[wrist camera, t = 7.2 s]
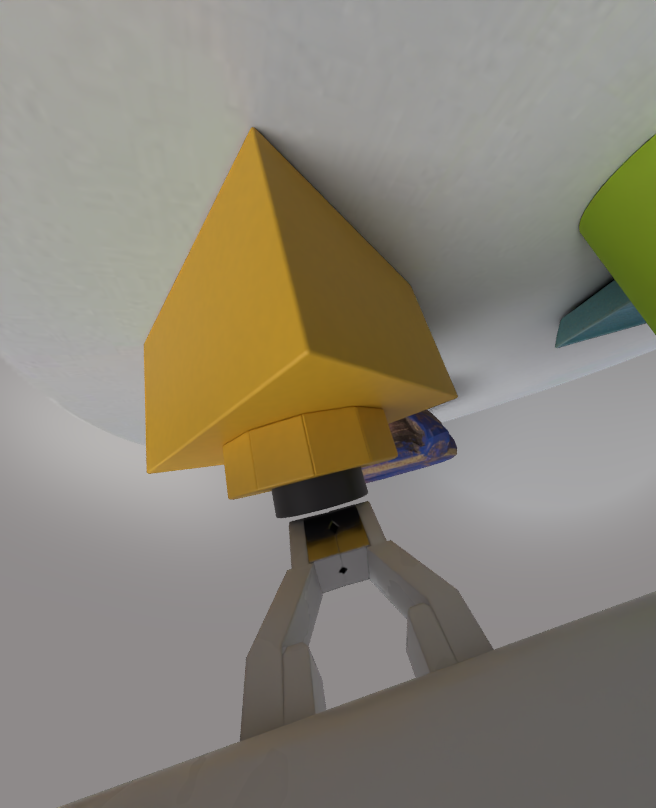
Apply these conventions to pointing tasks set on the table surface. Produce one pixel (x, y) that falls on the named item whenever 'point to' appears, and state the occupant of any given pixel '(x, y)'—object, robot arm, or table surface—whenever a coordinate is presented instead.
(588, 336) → the rectangular tray
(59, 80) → the table surface
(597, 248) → the soap dispenser
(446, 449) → the bowl
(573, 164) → the table surface
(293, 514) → the black cylinder
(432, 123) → the table surface
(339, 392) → the yellow push button box
